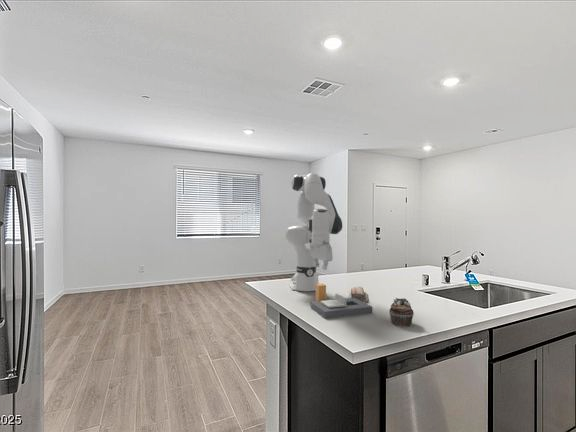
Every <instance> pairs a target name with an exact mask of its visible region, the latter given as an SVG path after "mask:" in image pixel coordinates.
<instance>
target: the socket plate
mask: <svg viewBox="0 0 576 432" xmlns="http://www.w3.org/2000/svg"><path fill="white" fill-rule="evenodd" d="M310 308H311V310H313V311H314V312H315V313H317V314H318V315H319V316H321V317H322V318H324V319H332V318H340V317H349V316H350V317H352V316H359V315H368V314H373V306H372V305H369V304H368V303H367V302H362V301H360V300H358V299H356V298H349V297H348V298H347V297H346V306H343V307H333V308H328V307H326V306H325V305H323V304H322V303H321V301H316V300H315V301H310Z"/></svg>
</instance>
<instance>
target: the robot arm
mask: <svg viewBox="0 0 576 432" xmlns="http://www.w3.org/2000/svg"><path fill="white" fill-rule="evenodd" d="M326 183H327V182H326V179H325V178H324V177H323V176H320V175H318V173H316V172H310V173H309V174H295V175H293V176H292V179H291V182H290V185H291V188H292V190H293V191H297V192H299V193H298V196H297V202H296V203H297V205H296V208H297V212H296V213H297V215H296V217H297V219H298V220H299V222H302V223H304V224H306V225H293V226H288V228H286V231H285V239H286V241H287V242H288V243H289V244H291V245H292V246H293V247H294V250H295V252H296V257H297V258H296V259H297V260H296V261H297V266H296V270H295V271H296V272H295V274H294V275H293V276H292V277H291V278H290V281H291V282H290V283H289V284H288V285H289V287H290V289H291V291H299V292H316V284H320V282H319V275H318V274H317V268H319V267H320V262H319V260H321V261H322V263H323V265H322V270H323V271H326V270H328V265H329V262H332V261H333V247H332V246H331V243H330V241H331V240H330V238H331V237H330V236H331V235H338V234H339V233H340V232H341V231H342V229H343V221H342V218H341V217H340V215H339V213H338V210H337V208H336V206H335V203H334V201H333V200H334V199H333V198H332V196H331V195H330V194H329V193H328V192H326V191H325V189H326V186H327V184H326ZM315 205H318V206H321V207H324V208H325V209H324V208H316V209H315ZM306 244H309V248H308V247H307V246H306Z"/></svg>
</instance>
